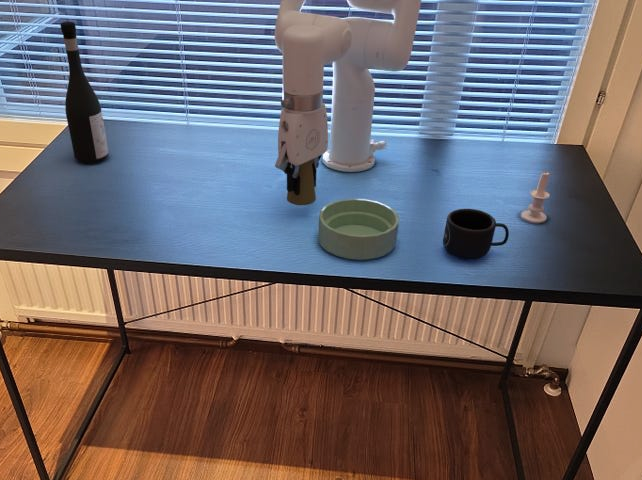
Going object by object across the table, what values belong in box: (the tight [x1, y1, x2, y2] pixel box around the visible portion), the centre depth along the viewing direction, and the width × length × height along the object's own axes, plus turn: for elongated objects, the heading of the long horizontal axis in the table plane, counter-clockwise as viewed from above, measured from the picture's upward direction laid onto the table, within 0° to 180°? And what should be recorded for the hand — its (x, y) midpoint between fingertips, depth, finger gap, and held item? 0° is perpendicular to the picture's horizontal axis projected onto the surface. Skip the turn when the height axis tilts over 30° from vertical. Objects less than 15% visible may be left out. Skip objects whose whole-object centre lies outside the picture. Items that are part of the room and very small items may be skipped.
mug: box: [442, 208, 510, 261], centre depth 126 cm, size 12×9×7 cm
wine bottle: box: [60, 21, 109, 165], centre depth 150 cm, size 8×8×30 cm
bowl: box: [317, 198, 400, 261], centre depth 129 cm, size 15×15×6 cm
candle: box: [520, 171, 550, 225], centre depth 136 cm, size 5×5×10 cm
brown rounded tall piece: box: [286, 158, 317, 207], centre depth 134 cm, size 6×6×11 cm
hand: (301, 188), depth 136 cm, fingers closed on brown rounded tall piece, 4 cm apart
